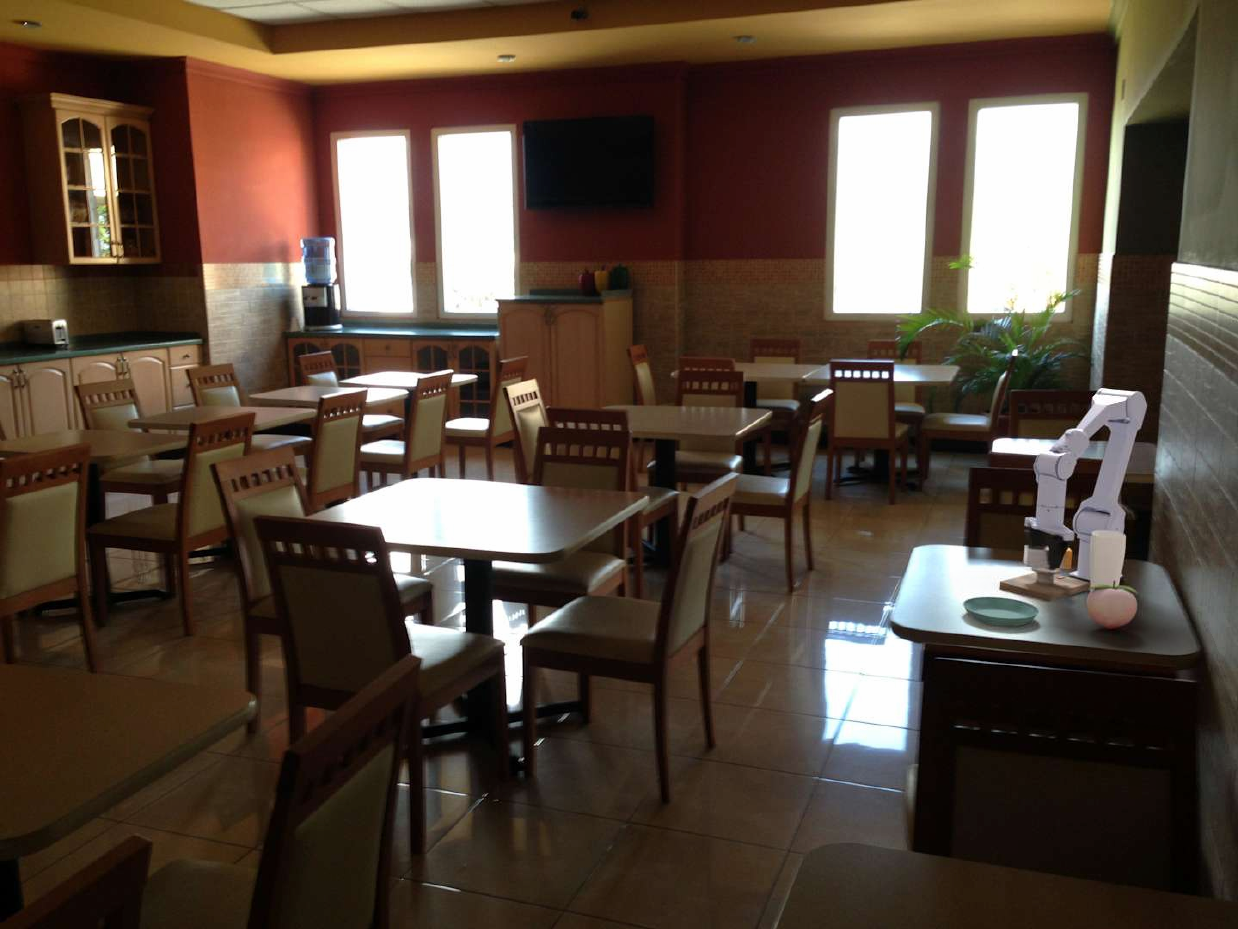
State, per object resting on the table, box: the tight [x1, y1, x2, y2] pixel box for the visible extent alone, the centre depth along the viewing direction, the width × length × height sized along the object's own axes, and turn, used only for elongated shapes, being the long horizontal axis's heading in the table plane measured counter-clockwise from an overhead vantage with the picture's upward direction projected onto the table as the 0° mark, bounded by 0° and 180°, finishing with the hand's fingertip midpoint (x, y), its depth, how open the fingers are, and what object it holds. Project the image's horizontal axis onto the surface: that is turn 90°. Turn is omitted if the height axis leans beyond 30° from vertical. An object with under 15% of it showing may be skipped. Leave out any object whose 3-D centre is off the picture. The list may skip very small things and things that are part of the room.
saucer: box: [962, 596, 1040, 627], centre depth 212 cm, size 15×15×3 cm
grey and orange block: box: [1023, 544, 1073, 575], centre depth 232 cm, size 6×9×5 cm, turn 79°
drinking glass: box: [1089, 530, 1127, 593], centre depth 223 cm, size 7×7×15 cm
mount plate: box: [998, 572, 1090, 602], centre depth 232 cm, size 16×12×4 cm
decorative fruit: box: [1086, 581, 1140, 630], centre depth 205 cm, size 9×8×10 cm
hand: (1045, 564), depth 232 cm, fingers closed on grey and orange block, 5 cm apart
